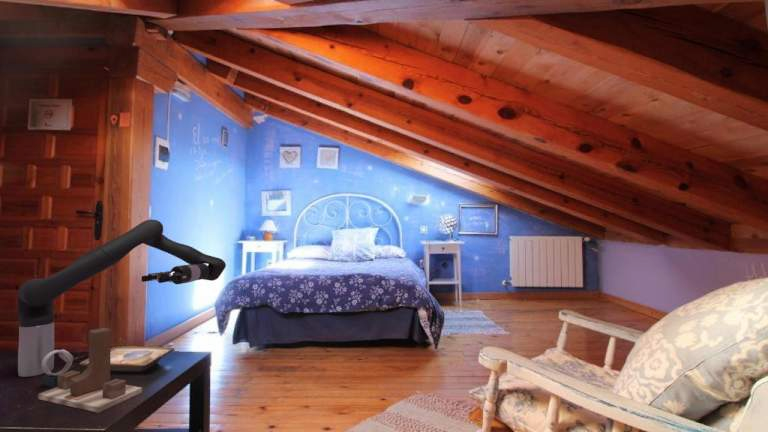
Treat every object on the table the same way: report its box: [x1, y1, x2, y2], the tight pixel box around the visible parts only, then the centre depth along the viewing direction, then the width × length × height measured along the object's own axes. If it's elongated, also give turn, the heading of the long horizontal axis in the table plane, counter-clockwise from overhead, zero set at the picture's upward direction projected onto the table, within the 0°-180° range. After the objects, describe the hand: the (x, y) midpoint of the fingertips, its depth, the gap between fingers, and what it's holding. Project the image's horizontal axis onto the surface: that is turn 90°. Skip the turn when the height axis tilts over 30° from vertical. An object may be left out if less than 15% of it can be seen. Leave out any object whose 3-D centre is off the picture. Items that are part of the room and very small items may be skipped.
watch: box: [41, 348, 74, 389], centre depth 122 cm, size 6×8×11 cm
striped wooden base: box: [37, 370, 143, 414], centre depth 113 cm, size 26×13×6 cm, turn 72°
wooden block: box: [70, 327, 112, 397], centre depth 114 cm, size 9×4×18 cm, turn 146°
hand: (150, 279), depth 139 cm, fingers open, 8 cm apart
